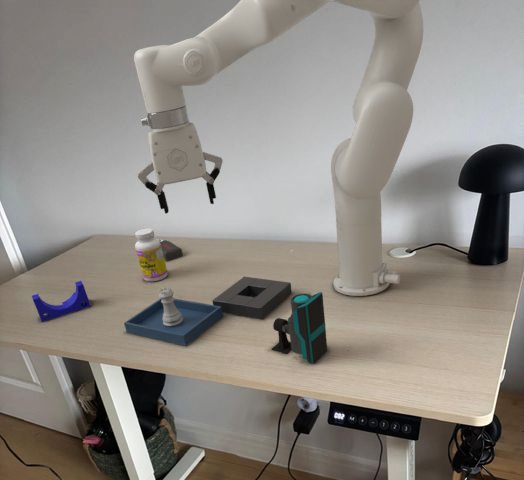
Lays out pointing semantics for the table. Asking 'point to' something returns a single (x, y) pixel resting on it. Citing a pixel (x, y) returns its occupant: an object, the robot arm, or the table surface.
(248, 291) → the square hole block
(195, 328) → the basin tray
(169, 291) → the rook chess piece
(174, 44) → the robot arm
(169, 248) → the usb drive
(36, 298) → the blue curved cradle bracket
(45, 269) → the table surface
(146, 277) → the supplement bottle
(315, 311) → the surveillance camera
